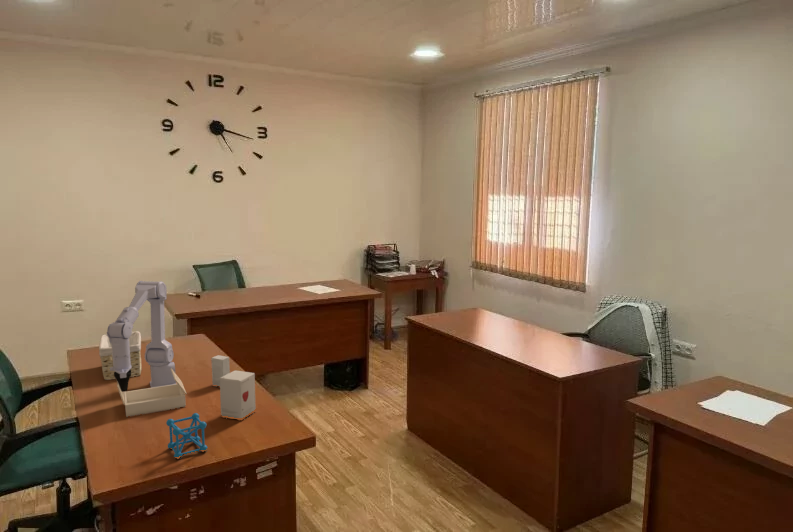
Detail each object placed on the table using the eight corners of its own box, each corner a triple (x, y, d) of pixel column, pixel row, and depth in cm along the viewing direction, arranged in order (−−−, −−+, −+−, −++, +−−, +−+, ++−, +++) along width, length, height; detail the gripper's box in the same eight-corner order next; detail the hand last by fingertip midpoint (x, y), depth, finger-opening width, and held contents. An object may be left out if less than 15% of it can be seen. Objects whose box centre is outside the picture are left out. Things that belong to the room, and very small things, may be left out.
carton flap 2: (180, 382, 220) (181, 381, 220) (185, 394, 207) (186, 394, 208) (170, 368, 217) (171, 368, 217) (174, 380, 205) (175, 379, 205)
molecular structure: (208, 452, 174) (207, 422, 172) (175, 461, 168) (173, 430, 166) (199, 440, 182) (197, 411, 180) (166, 448, 176) (165, 418, 174)
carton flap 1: (117, 374, 209) (116, 374, 209) (118, 386, 196) (117, 387, 196) (123, 391, 210) (122, 391, 210) (124, 404, 198) (123, 404, 198)
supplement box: (241, 421, 196) (240, 380, 193) (220, 418, 199) (218, 377, 197) (256, 412, 204) (255, 372, 202) (236, 408, 207) (234, 369, 205)
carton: (181, 394, 220) (180, 383, 220) (185, 407, 208) (185, 395, 207) (124, 403, 211) (123, 391, 210) (126, 417, 199) (125, 405, 198)
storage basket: (142, 377, 239) (140, 343, 237) (100, 382, 233) (97, 348, 231) (142, 360, 261) (140, 330, 259) (103, 365, 254) (101, 333, 252)
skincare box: (230, 384, 231) (229, 356, 229) (223, 388, 227) (222, 359, 225) (219, 382, 234) (218, 354, 232) (212, 385, 230) (210, 357, 228)
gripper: (108, 351, 206) (111, 386, 208) (109, 362, 194) (112, 399, 196) (129, 348, 209) (132, 383, 212) (131, 359, 197) (134, 396, 199)
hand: (123, 390), depth 204 cm, fingers closed, pressing on carton flap 1
